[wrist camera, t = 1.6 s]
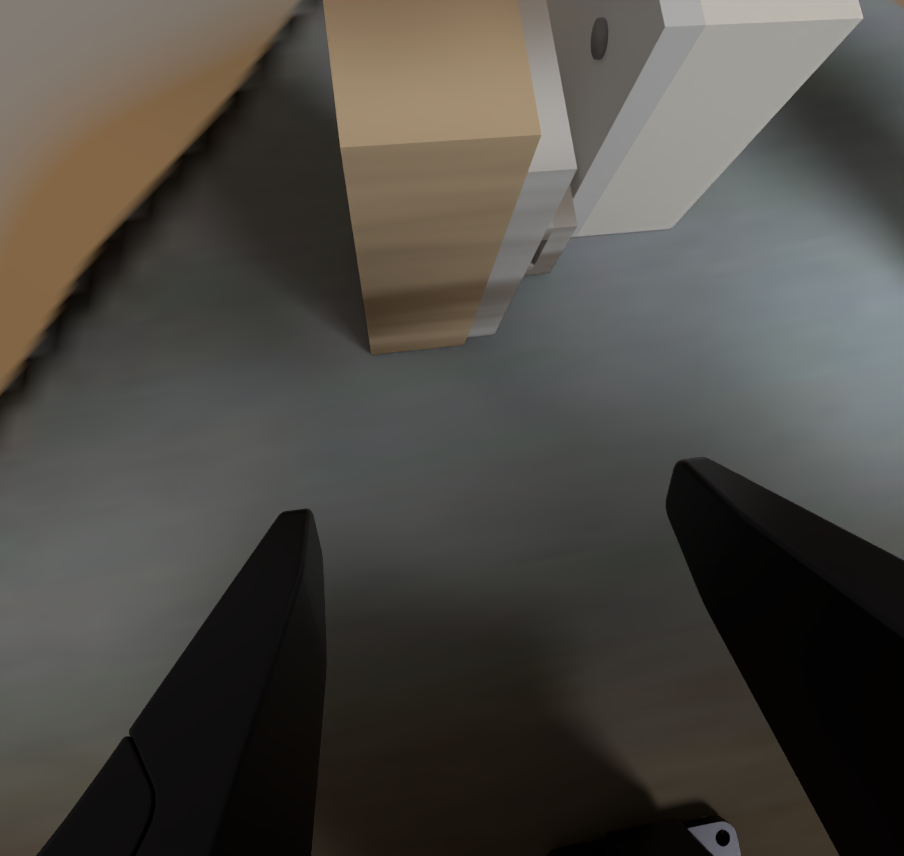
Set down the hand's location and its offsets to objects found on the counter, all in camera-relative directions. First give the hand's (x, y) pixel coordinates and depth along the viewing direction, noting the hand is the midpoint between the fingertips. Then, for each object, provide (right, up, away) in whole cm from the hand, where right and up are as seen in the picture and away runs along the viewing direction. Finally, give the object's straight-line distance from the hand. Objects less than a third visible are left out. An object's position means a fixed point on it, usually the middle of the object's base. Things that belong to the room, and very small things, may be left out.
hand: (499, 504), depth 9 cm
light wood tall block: (-1, +7, +14) cm, 15 cm away
